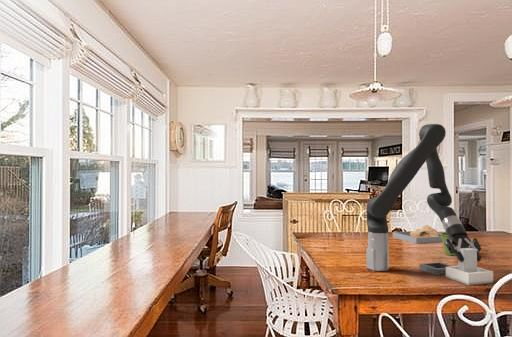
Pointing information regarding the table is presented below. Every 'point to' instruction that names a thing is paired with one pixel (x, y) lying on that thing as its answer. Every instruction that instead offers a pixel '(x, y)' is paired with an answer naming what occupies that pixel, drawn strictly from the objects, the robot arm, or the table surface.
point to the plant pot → (444, 238)
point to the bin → (469, 275)
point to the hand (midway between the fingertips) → (471, 260)
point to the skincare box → (468, 260)
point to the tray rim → (407, 237)
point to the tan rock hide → (424, 232)
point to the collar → (434, 268)
